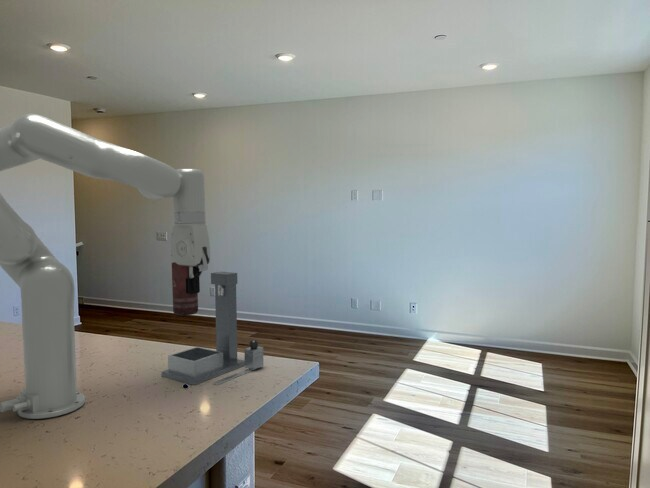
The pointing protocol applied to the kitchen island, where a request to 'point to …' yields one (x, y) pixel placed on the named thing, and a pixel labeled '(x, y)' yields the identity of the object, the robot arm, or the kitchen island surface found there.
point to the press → (211, 363)
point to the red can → (182, 292)
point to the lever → (253, 355)
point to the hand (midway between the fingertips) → (192, 293)
